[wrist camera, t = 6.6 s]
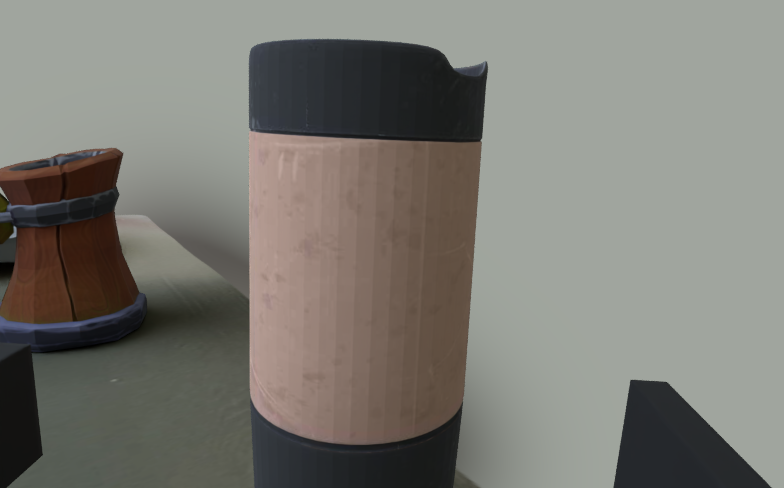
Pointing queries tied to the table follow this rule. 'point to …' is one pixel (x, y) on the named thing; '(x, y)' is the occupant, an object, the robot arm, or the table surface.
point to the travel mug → (360, 260)
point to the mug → (66, 253)
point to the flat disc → (8, 249)
